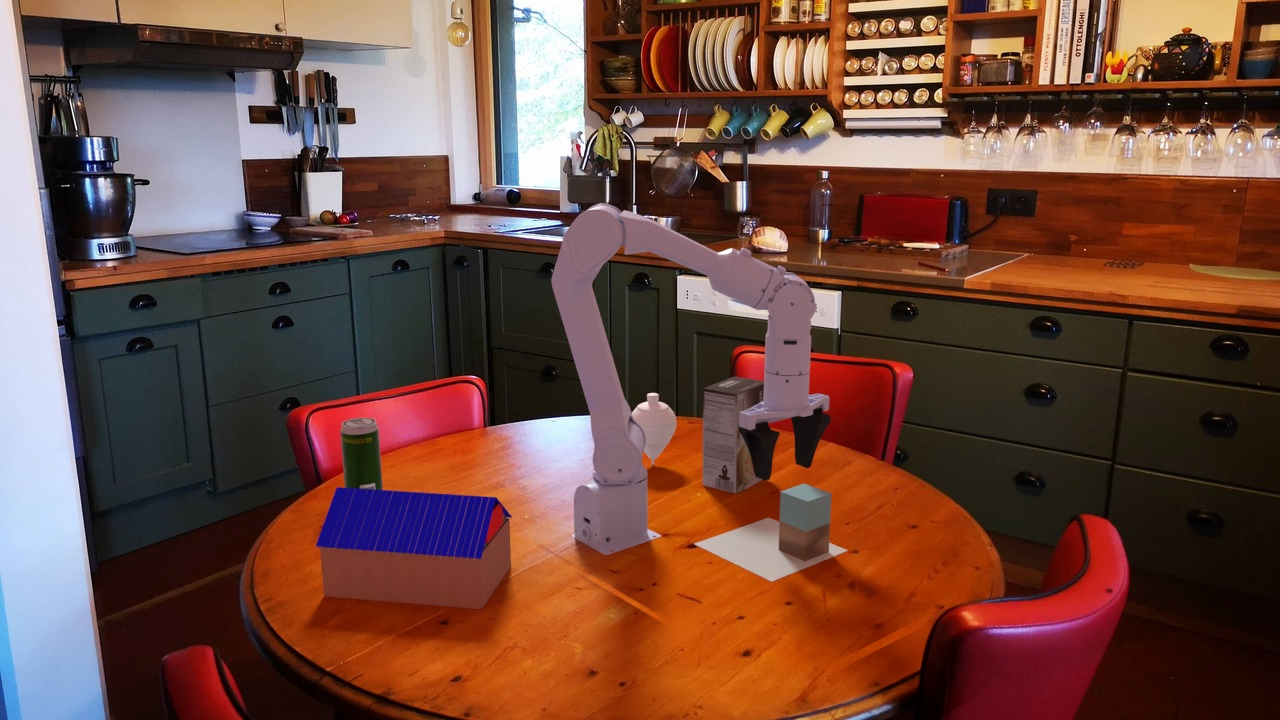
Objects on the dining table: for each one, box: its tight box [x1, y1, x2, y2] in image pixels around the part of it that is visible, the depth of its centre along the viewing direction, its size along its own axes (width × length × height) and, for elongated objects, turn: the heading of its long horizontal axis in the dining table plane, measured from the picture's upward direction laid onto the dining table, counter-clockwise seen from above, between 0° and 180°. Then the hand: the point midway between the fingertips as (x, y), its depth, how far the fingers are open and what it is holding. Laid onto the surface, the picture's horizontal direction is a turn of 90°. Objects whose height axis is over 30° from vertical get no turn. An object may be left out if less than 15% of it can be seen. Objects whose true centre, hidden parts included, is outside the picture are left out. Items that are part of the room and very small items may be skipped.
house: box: [315, 486, 513, 610], centre depth 116 cm, size 12×20×12 cm, turn 80°
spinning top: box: [631, 392, 678, 466], centre depth 157 cm, size 8×8×12 cm
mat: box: [693, 517, 849, 583], centre depth 125 cm, size 14×14×1 cm
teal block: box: [779, 483, 832, 532], centre depth 122 cm, size 4×4×4 cm
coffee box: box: [702, 376, 764, 494], centre depth 147 cm, size 9×6×16 cm
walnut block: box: [778, 520, 831, 561], centre depth 123 cm, size 4×4×4 cm
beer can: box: [339, 417, 384, 490], centre depth 142 cm, size 5×5×12 cm
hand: (783, 471), depth 126 cm, fingers open, 7 cm apart
